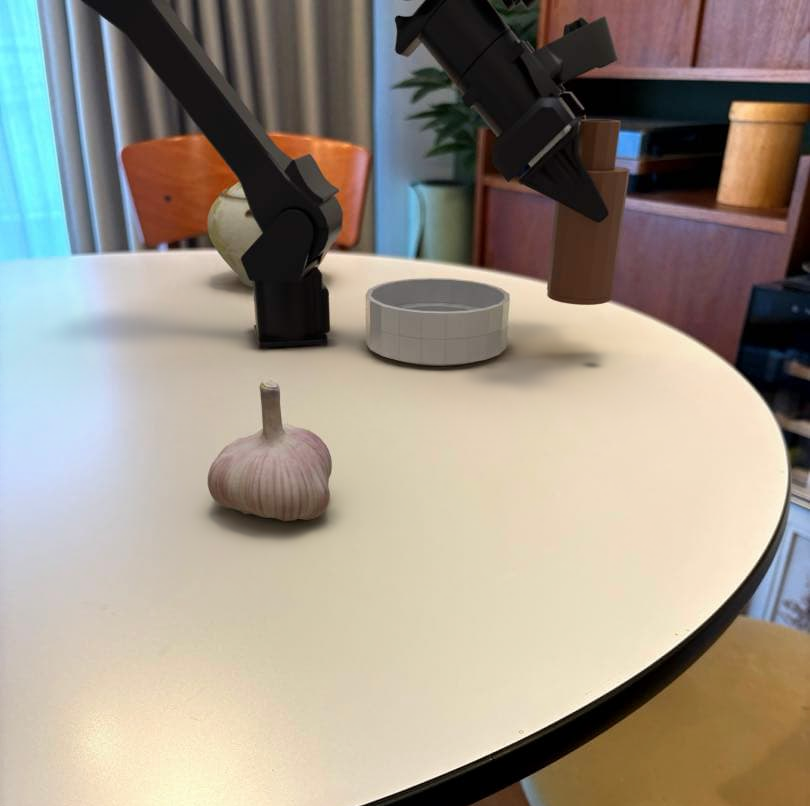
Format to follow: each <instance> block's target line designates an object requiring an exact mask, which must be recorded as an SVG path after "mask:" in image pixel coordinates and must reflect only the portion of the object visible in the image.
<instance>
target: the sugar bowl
mask: <svg viewBox="0 0 810 806" xmlns="http://www.w3.org/2000/svg"><path fill="white" fill-rule="evenodd" d="M206 223H207V224H206V225H207V226H206V227H207V233H208V236H209V239H210V242H211V244H212V245H213V247H214V248H215V250H216V251H217V253H218V254H219V256H220V257H221V259H223V260H224V262H225V263H226V264H227V265H228V266H229V268H230V269H231V270H232V271H233V272H234V274H235V275H236V276H237V277H238V278H239V280H240V282H241V283H242V284H243V285H245V286H247V287H250V288H253V282H252V281H250V280H249V278H248V276H247V274H246V271H245V269H244V266H243V264H242V262H241V257H242V255H243V254H244V253H245V252H246V251H247V250H248V249H249V248H250V246H251V245H252V244H253V243H254V242H255V241H256V240H257V239H258V238H259V237H260V235H261V234H262V232H261V230H260V228H259V226H258V225H257V223H256V221H255V219H254V218H253V216H252V214H251V211H250V208H249V205H248V203H247V200H246V197H245V194H244V191H243V189H242V186H241V183H240V181H239V182H237V183H235V184H234V185H232V186H230V187H226V188H225V189H222V190H221V192H220V193H219V196H218V197H217V198H216V199H215V201H213V203H212V205H211V207H210V209H209V211H208V214H207V222H206ZM331 247H332V245H330V246H329V247H328V248H327V249H326V250H325V251H324V254H323V257H322V260H321V263H320V264H318V265H316V266H315V267H318V268H319V267H320V265H321V264H322V263H323V261H324V260H325V258H326V256H327V255H328V252H329V250H330V248H331Z"/></svg>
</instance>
